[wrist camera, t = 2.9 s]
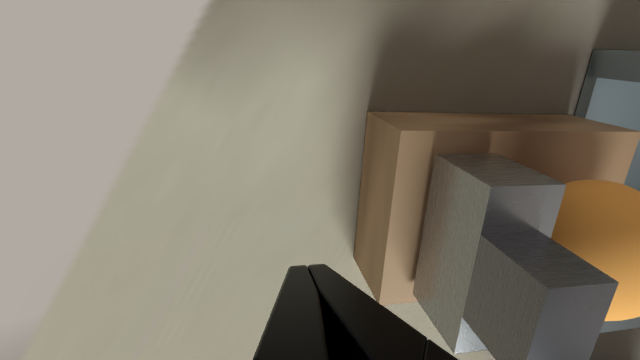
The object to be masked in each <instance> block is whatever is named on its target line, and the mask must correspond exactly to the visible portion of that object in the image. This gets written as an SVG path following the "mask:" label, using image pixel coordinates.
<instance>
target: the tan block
mask: <svg viewBox="0 0 640 360" xmlns="http://www.w3.org/2000/svg"><path fill="white" fill-rule="evenodd" d="M639 139H640V131H636V130H632V129H628V128H624V127H619V126H615V125H611V124H606V123H602V122H598V121H594V120H589V119H585V118H581V117H577V116H572V115H559V114H493V113H428V112H367V122H366V133H365V143H364V154H363V165H362V175H361V186H360V196H359V207H358V218H357V228H356V239H355V250H354V259H355V261H356V263H357V265H358V267H359V269H360V271H361V273H362V274H363V276H364V278H365V280H366V282H367V284H368V286H369V288H370V290H371V291H372V293H373V295H374V297H375V299H376V301H377V302H378V303H379V304H381V305H389V304H399V303H410V302H418V301H417V299H416V298H415V296H414V295H413V288H414V282H415V276H416V270H417V264H418V257H419V251H420V245H421V239H422V233H423V226H424V220H425V214H426V208H427V202H428V196H429V189H430V183H431V177H432V171H433V165H434V158H435V154H475V153H497V154H499V155H502V156H504V157H506V158H508V159H511V160H513V161H515V162H517V163H520V164H522V165H524V166H526V167H528V168H531V169H533V170H535V171H537V172H540V173H542V174H544V175H546V176H549V177H551V178H553V179H555V180H557V181H560V182H562V183H568V182H572V181H580V180H605V181H611V182H616V183H620V184H623V185H624V182H625V179H626V176H627V173H628V170H629V167H630V165H631V162H632V159H633V156H634V153H635V150H636V147H637V145H638V142H639Z"/></svg>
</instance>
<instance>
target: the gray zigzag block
mask: <svg viewBox="0 0 640 360" xmlns="http://www.w3.org/2000/svg"><path fill="white" fill-rule="evenodd" d="M565 188H566V184H564V183H562V182H560V181H557V180H555V179H553V178H551V177H549V176H546V175H544V174H542V173H540V172H537V171H535V170H533V169H531V168H528V167H526V166H524V165H522V164H520V163H517V162H515V161H513V160H511V159H508V158H506V157H504V156H502V155H499V154H497V153H475V154H435V158H434V165H433V171H432V177H431V183H430V189H429V196H428V202H427V208H426V214H425V220H424V226H423V233H422V239H421V245H420V251H419V257H418V264H417V270H416V276H415V282H414V288H413V295H414V296H415V298H416V299H417V301H418V302H419V304H420V305H421V307H422V308H423V309H424V311H425V312H426V314H427V315H428V317H429V318H430V320H431V321H432V323H433V324H434V326H435V327H436V328H437V330H438V331H439V333H440V334H441V336H442V337H443V339H444V340H445V342H446V343H447V344H448V346H449V347H450V349H451V350H452V352H453V353H454V354H459V353H466V352H474V351H482V350H489V352H490V353H491V354H492V355H493V357H494V358H495V359H496V360H590V357H591V355H592V352H593V349H594V347H595V344H596V341H597V339H598V336H599V334H600V331H601V328H602V326H603V323H604V320H605V318H606V315H607V313H608V310H609V307H610V305H611V302H612V300H613V297H614V294H615V292H616V289H617V286H618V284H619V282H618V281H616V280H615V279H613V278H612V277H610V276H608V275H607V274H605V273H604V272H602V271H601V270H599V269H598V268H596V267H594V266H593V265H591V264H590V263H588V262H587V261H585V260H584V259H582V258H580V257H579V256H577V255H576V254H574V253H573V252H571V251H570V250H568V249H566V248H565V247H563V246H562V245H560V244H559V243H557V242H555V241H554V240H552V239H551V236H552V232H553V229H554V226H555V222H556V219H557V215H558V212H559V209H560V205H561V202H562V198H563V195H564V192H565Z"/></svg>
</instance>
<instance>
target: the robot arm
mask: <svg viewBox="0 0 640 360" xmlns="http://www.w3.org/2000/svg"><path fill="white" fill-rule="evenodd" d="M253 360H458V359H457V358H455V357H454V356H452V355H451V354H449V353H448V352H446V351H445V350H443V349H442V348H441V347H439V346H438V345H437V344H435V343H434V342H432V341H431V340H427V338H426V337H425V336H424V335H422V334H421V333H420V332H418V331H417V330H416V329H414V328H413V327H411V326H410V325H409V324H407V323H406V322H404V321H403V320H402V319H400V318H399V317H398V316H396V315H395V314H393V313H392V312H391V311H389V310H388V309H386V308H385V307H384V306H382V305H381V304H379V303H378V302H377V301H375V300H374V299H373V298H371V297H370V296H368V295H367V294H366V293H364V292H363V291H361V290H360V289H359V288H357V287H356V286H355V285H353V284H352V283H350V282H349V281H348V280H346V279H345V278H343V277H342V276H341V275H339V274H338V273H336V272H335V271H334V270H332V269H331V268H330V267H328V266H327V265H325V264H315V265H309V266H308V267H307V266H305V265H301V266H291V267H289V269H288V271H287V274H286V277H285V279H284V282H283V284H282V287H281V289H280V292H279V294H278V297H277V299H276V302H275V304H274V307H273V309H272V312H271V314H270V317H269V319H268V322H267V325H266V327H265V330H264V332H263V335H262V337H261V340H260V342H259V345H258V347H257V350H256V352H255V355H254V357H253Z"/></svg>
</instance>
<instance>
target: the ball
mask: <svg viewBox="0 0 640 360" xmlns="http://www.w3.org/2000/svg"><path fill="white" fill-rule="evenodd" d="M564 184H566V188H565V192H564V195H563V198H562V202H561V205H560V209H559V212H558V215H557V219H556V222H555V226H554V229H553V232H552V236H551V239H552V240H554V241H555V242H557V243H559V244H560V245H562V246H563V247H565V248H566V249H568V250H570V251H571V252H573V253H574V254H576V255H577V256H579V257H580V258H582V259H584V260H585V261H587V262H588V263H590V264H591V265H593V266H594V267H596V268H598V269H599V270H601V271H602V272H604V273H605V274H607V275H608V276H610V277H612V278H613V279H615V280H616V281H618V282H619V284H618V286H617V289H616V292H615V294H614V297H613V300H612V302H611V305H610V307H609V310H608V313H607V315H606V318H605V320H604V321H622V320H627V319H633V318H637V317H640V191H638V190H636V189H634V188H631V187H629V186H626V185H623V184H620V183H616V182H611V181H605V180H580V181H572V182H568V183H564Z"/></svg>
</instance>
